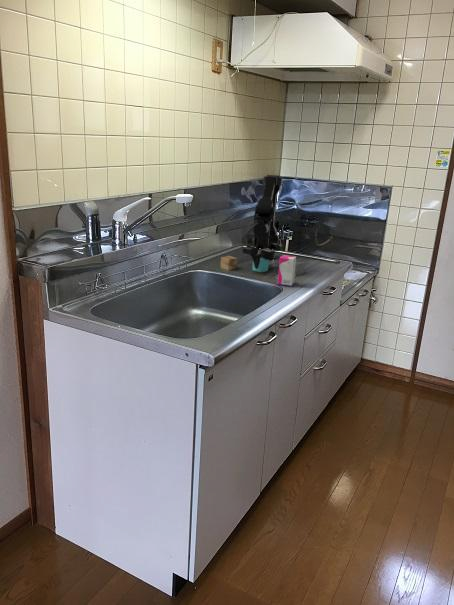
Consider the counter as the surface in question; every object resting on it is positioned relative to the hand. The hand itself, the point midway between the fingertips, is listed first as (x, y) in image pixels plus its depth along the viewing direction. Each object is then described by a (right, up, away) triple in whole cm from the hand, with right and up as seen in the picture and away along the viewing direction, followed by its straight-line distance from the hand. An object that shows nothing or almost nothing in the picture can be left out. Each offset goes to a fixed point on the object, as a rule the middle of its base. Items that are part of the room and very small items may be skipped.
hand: (260, 267), depth 220 cm
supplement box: (+9, -8, -18) cm, 22 cm away
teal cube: (0, -1, 0) cm, 1 cm away
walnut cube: (-14, 0, +1) cm, 14 cm away
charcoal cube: (+15, -3, -1) cm, 16 cm away
